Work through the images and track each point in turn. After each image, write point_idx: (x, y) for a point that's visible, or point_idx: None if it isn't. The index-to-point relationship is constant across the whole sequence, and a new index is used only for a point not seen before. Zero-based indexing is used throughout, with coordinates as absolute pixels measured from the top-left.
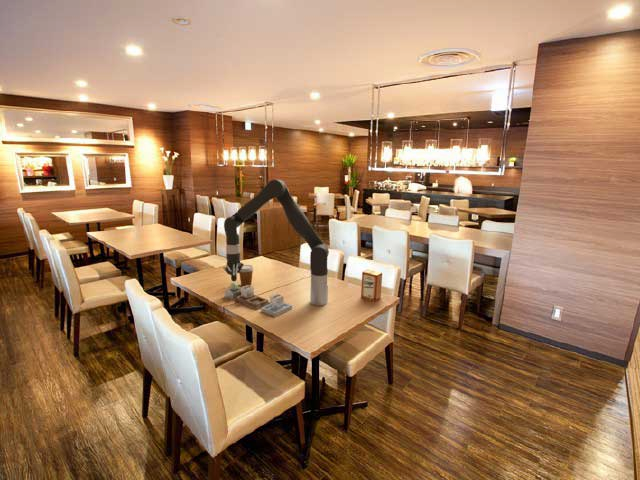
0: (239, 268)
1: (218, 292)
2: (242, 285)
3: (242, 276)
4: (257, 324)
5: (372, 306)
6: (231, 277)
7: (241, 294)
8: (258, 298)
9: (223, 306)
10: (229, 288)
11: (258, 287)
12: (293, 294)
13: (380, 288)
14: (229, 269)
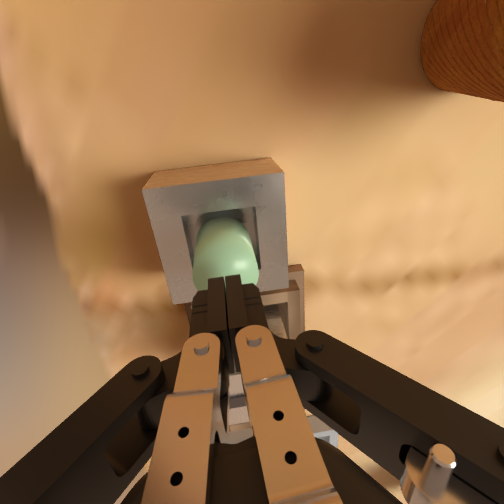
0: (356, 441)
1: (151, 12)
2: (425, 40)
3: (498, 47)
4: None
5: None
6: (191, 324)
7: None
8: None
9: (83, 306)
10: (201, 190)
11: (462, 177)
12: (459, 375)
13: None
14: (162, 414)
